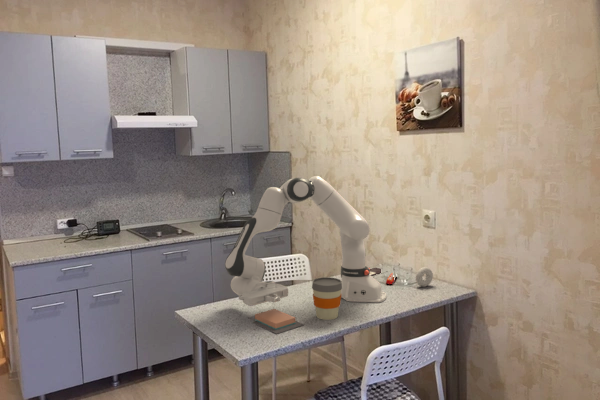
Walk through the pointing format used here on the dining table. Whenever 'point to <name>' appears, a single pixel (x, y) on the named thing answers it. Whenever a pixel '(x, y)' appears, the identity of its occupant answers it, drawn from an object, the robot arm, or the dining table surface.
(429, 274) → the donut
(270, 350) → the dining table surface
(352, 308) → the dining table surface
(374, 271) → the chocolate bar
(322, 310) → the reusable coffee cup
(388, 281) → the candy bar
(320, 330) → the dining table surface
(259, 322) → the mat
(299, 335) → the dining table surface
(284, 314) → the tile
